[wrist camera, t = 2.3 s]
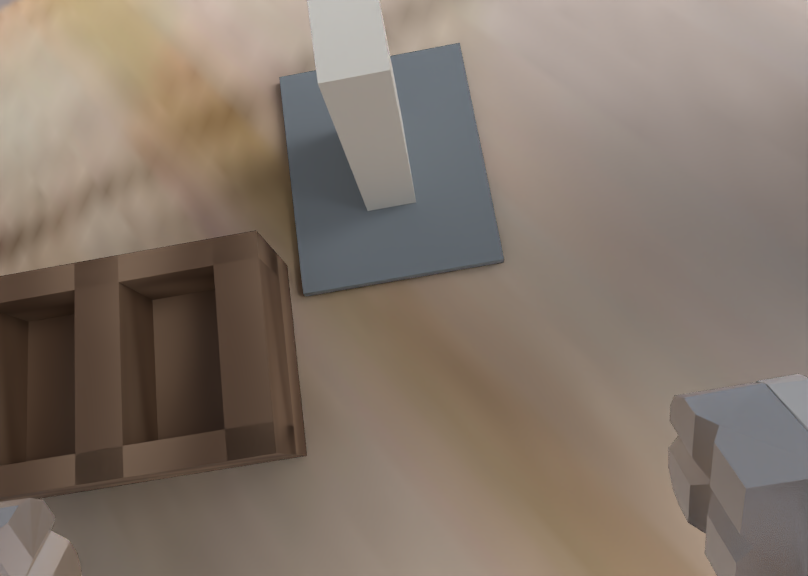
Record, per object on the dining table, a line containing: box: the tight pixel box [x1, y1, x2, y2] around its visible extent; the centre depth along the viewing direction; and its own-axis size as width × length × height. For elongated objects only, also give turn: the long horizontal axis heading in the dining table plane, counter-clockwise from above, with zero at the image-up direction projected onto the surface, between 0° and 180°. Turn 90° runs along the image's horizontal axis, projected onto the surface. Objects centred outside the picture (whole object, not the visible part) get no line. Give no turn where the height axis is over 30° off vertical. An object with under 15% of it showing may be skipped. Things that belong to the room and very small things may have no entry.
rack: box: [0, 231, 307, 502], centre depth 24 cm, size 17×8×4 cm, turn 99°
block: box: [307, 0, 416, 211], centre depth 22 cm, size 2×4×9 cm, turn 9°
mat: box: [279, 43, 504, 296], centre depth 27 cm, size 8×10×1 cm
